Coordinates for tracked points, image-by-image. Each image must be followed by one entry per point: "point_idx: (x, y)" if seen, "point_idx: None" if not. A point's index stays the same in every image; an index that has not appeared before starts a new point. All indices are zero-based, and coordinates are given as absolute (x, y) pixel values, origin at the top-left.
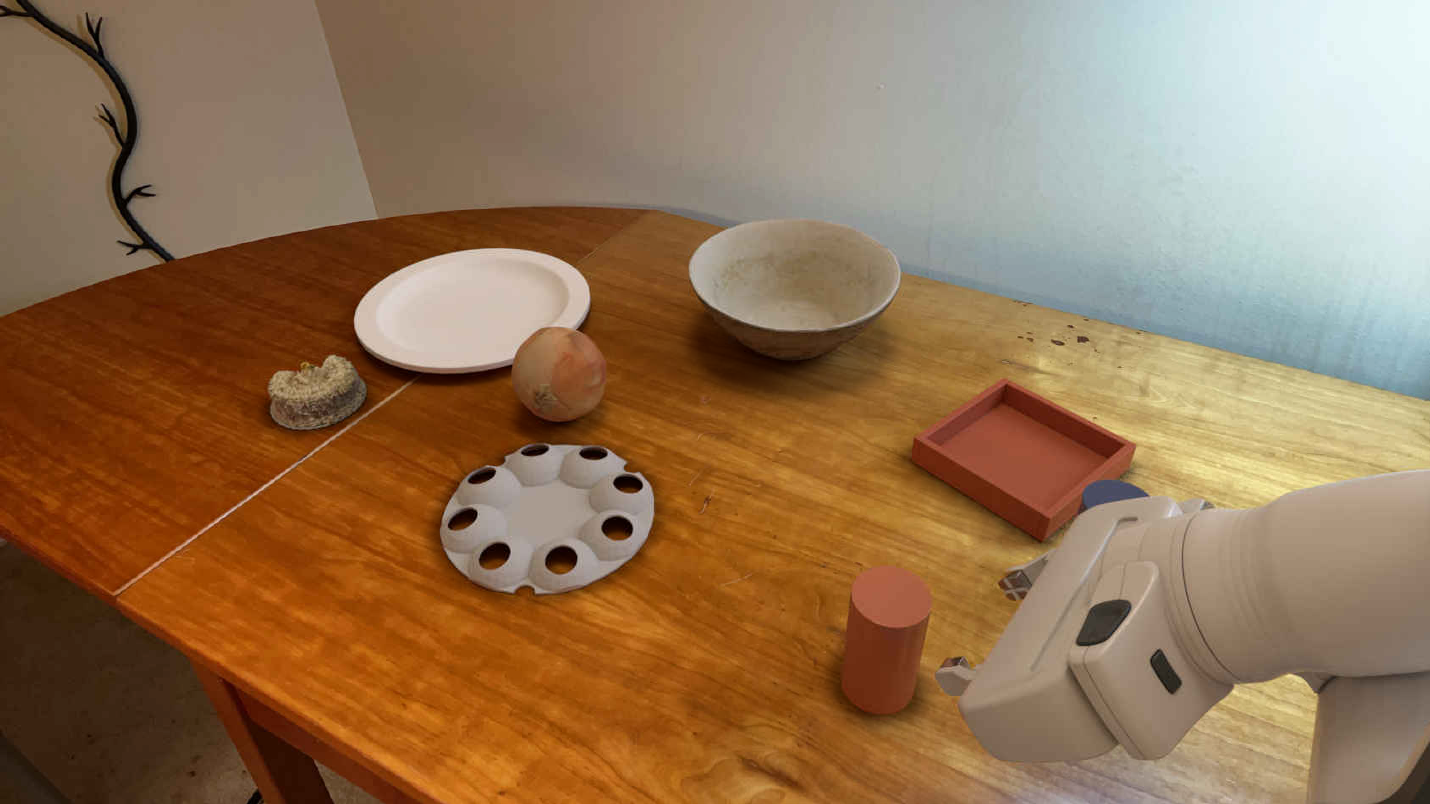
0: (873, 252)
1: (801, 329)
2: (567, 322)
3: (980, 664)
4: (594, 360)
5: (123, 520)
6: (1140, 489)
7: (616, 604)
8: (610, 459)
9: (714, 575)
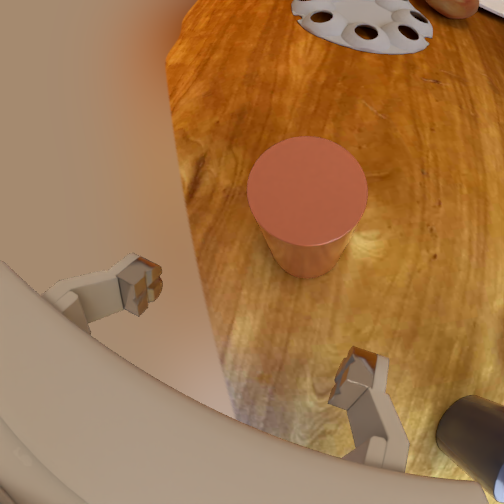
0: None
1: None
2: (493, 8)
3: (74, 301)
4: None
5: None
6: None
7: (310, 52)
8: (422, 25)
9: (369, 94)
